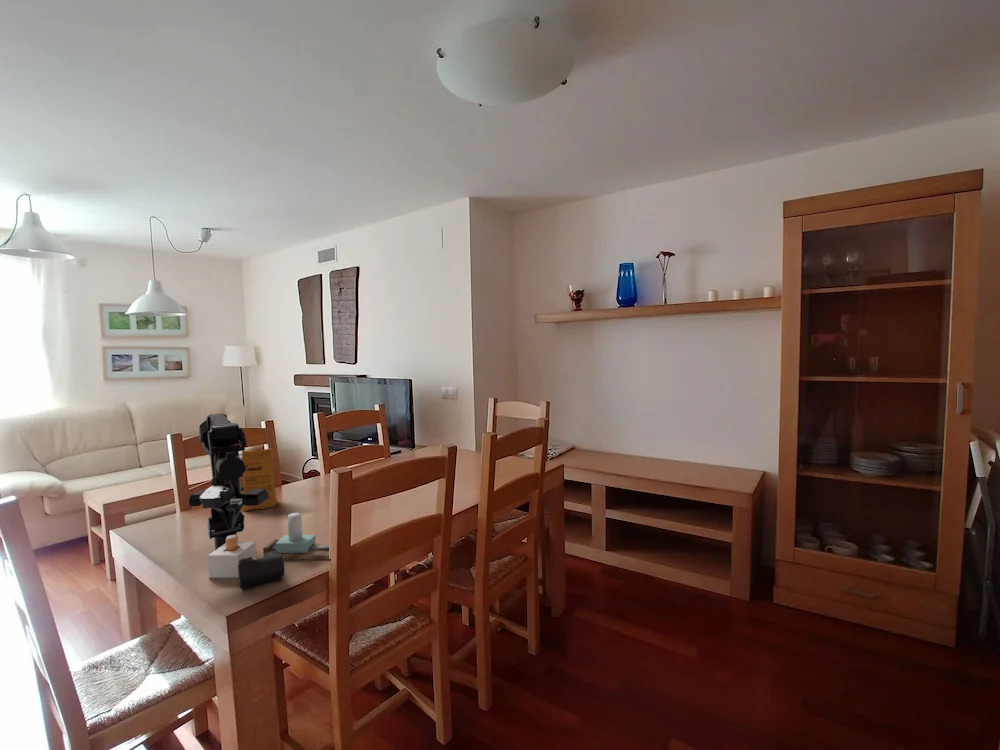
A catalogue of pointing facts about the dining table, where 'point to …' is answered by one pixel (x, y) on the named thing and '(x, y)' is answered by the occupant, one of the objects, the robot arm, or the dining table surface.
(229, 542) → the cylinder
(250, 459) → the coffee package
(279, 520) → the dining table surface
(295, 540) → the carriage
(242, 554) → the cabinet
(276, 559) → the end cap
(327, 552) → the rail
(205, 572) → the dining table surface
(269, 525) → the dining table surface
